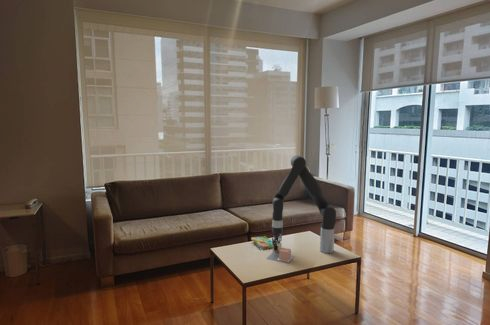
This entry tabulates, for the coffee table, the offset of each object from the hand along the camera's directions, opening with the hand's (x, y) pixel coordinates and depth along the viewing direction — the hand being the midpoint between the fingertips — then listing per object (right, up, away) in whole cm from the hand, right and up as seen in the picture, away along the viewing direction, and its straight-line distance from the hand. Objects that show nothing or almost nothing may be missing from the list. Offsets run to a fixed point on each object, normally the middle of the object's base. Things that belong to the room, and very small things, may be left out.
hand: (277, 248), depth 231 cm
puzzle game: (-9, -1, +12) cm, 15 cm away
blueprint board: (+1, -4, -13) cm, 13 cm away
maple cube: (0, -2, 0) cm, 1 cm away
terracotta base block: (+4, -3, -14) cm, 15 cm away
